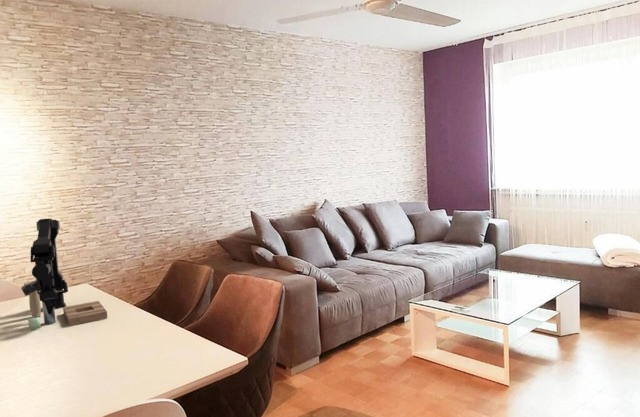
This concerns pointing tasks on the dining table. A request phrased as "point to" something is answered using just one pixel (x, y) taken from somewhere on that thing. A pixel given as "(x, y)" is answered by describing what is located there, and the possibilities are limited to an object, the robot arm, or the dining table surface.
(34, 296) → the handle
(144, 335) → the dining table surface
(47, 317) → the long pin
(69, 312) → the board
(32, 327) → the short pin
